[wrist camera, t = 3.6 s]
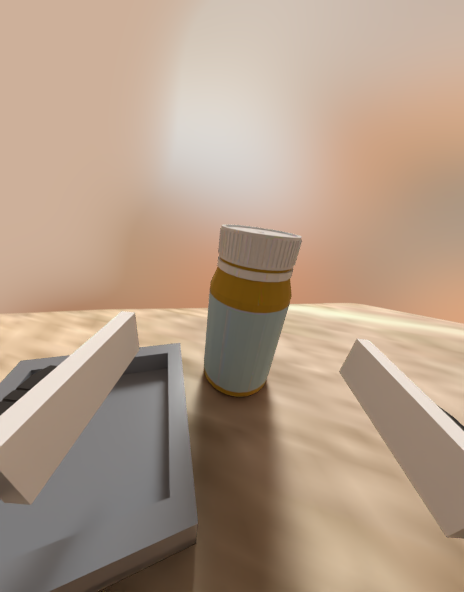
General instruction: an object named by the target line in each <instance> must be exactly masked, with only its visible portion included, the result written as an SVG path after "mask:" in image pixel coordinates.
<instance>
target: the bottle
mask: <svg viewBox="0 0 464 592" xmlns="http://www.w3.org/2000/svg"><path fill="white" fill-rule="evenodd" d="M301 238H302V237H301V236H299V235H295V234H291V233H287V232H282V231H276V230H271V229H264V228H257V227H250V226H240V225H222V227H221V228H220V239H219V250H218V252H219V257H218V267H217V270H216V272H215V274H214V276H213V278H212V280H211V286H210V294H209V306H208V319H207V332H206V344H205V357H204V372H205V375H206V378H207V380H208V381H209V383H210V384H211V385H212V386H213V387H214V388H215V389H217V390H219V391H220V392H222V393H224V394H227V395H231V396H235V397H241V396H249V395H252V394H254V393H256V392H258V391H259V390H260V389H261V388H262V387H263V386H264V384H265V382H266V379H267V376H268V374H269V370H270V367H271V364H272V360H273V357H274V354H275V350H276V347H277V344H278V340H279V337H280V334H281V330H282V327H283V324H284V320H285V317H286V314H287V310H288V307H289V304H290V299H291V286H290V278H291V276H292V272H293V266H294V265H295V263H296V260H297V256H298V252H299V249H300V245H301V242H302V240H301Z"/></svg>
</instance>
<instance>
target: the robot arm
mask: <svg viewBox="0 0 464 592" xmlns="http://www.w3.org/2000/svg"><path fill="white" fill-rule="evenodd" d="M139 350H140V349H139V341H138V333H137V325H136V317H135V313H132V312H124V311H121V312H120V313H119V314H118V315H116V316H115V317H114V318H113V319H112V320H111V321H109V322H108V323H107V324H106V325H105V326H104V327H103V328H101V329H100V330H99V331H98V332H97V333H96V334H94V335H93V336H92V337H91V338H90V339H89V340H87V341H86V342H85V343H84V344H83V345H82V346H80V347H79V348H78V349H77V350H76V351H75V352H74V353H72V354H71V355H70V356H69V357H68V358H67V359H65V360H64V361H63V362H62V363H61V364H60V365H58V366H54V365H50V366H48V367H46V368H44V369H42V370H41V371H39V372H37V373H35V374H33V375H32V376H30V377H29V378H28V379H27V380H25V381H24V382H23V383H22V384H20V385H19V386H18V387H17V388H16V390H13V391H12V392H10V393H9V394H8V395H7V396H5V397H4V398H3V400H2V401H1V402H0V499H1V500H2V501H3V502H4V503H13V504H26V505H31V504H32V503H33V501H34V500H35V498H36V497H37V495H38V494H39V493H40V491H41V490H42V488H43V487H44V485H45V484H46V483H47V481H48V480H49V478H50V477H51V475H52V474H53V473H54V471H55V470H56V468H57V467H58V465H59V464H60V463H61V461H62V460H63V458H64V457H65V455H66V454H67V453H68V451H69V450H70V448H71V447H72V445H73V444H74V443H75V441H76V440H77V438H78V437H79V436H80V434H81V433H82V431H83V430H84V428H85V427H86V426H87V424H88V423H89V421H90V420H91V418H92V417H93V416H94V414H95V413H96V411H97V410H98V408H99V407H100V406H101V404H102V403H103V401H104V400H105V398H106V397H107V396H108V394H109V393H110V391H111V390H112V388H113V387H114V386H115V384H116V383H117V381H118V380H119V378H120V377H121V376H122V374H123V373H124V371H125V370H126V368H127V367H128V366H129V364H130V363H131V361H132V360H133V359H134V357H135V356H136V354H137V353H138V351H139ZM339 372H340V374H341V375H342V377H343V378H344V380H345V381H346V383H347V385H348V386H349V388H350V389H351V391H352V392H353V394H354V395H355V397H356V398H357V400H358V401H359V403H360V405H361V406H362V408H363V409H364V411H365V412H366V414H367V415H368V417H369V418H370V420H371V422H372V423H373V425H374V426H375V428H376V429H377V431H378V432H379V434H380V435H381V437H382V439H383V440H384V442H385V443H386V445H387V446H388V448H389V449H390V451H391V452H392V454H393V455H394V457H395V459H396V460H397V462H398V463H399V465H400V466H401V468H402V469H403V471H404V472H405V474H406V476H407V477H408V479H409V480H410V482H411V483H412V485H413V486H414V488H415V489H416V491H417V493H418V494H419V496H420V497H421V499H422V500H423V502H424V503H425V505H426V506H427V508H428V509H429V511H430V513H431V514H432V516H433V517H434V519H435V520H436V522H437V523H438V525H439V526H440V528H441V530H442V531H443V533H444V534H445V536H446V537H451V538H464V426H463V425H461V424H460V423H459V422H458V421H457V420H456V419H455V418H454V417H453V416H451V415H450V414H448V413H447V412H446V411H444V410H443V409H442V408H440V407H439V406H437V405H436V404H435V403H434V402H433V401H432V400H431V399H430V398H429V397H428V396H427V395H426V394H425V393H424V392H423V391H422V390H421V389H419V388H418V387H417V386H416V385H415V384H414V383H413V382H412V381H411V380H410V379H409V378H408V377H407V376H406V375H405V374H404V373H403V372H402V371H401V370H400V369H399V368H398V367H397V366H396V365H394V364H393V363H392V362H391V361H390V360H389V359H388V358H387V357H386V356H385V355H384V354H383V353H382V352H381V351H380V350H379V349H378V348H377V347H376V346H375V345H374V344H373V343H372V342H370V341H369V340H363V339H356V341H355V343H354V345H353V347H352V349H351V351H350V352H349V354H348V356H347V358H346V360H345V362H344V364H343V366H342V367H341V369H340V371H339Z"/></svg>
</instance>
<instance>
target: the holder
mask: <svg viewBox="0 0 464 592" xmlns="http://www.w3.org/2000/svg"><path fill="white" fill-rule="evenodd" d="M139 349H140V350H139V351H138V353H137V354H136V356H135V357H134V359H133V360H132V361H131V363H130V364H129V366H128V367H127V368H126V370H125V371H124V373H123V374H122V376H121V377H120V378H119V380H118V381H117V383H116V384H115V386H114V387H113V388H112V390H111V391H110V393H109V394H108V396H107V397H106V398H105V400H104V401H103V403H102V404H101V406H100V407H99V408H98V410H97V411H96V413H95V414H94V416H93V417H92V418H91V420H90V421H89V423H88V424H87V426H86V427H85V428H84V430H83V431H82V433H81V434H80V436H79V437H78V438H77V440H76V441H75V443H74V444H73V445H72V447H71V448H70V450H69V451H68V453H67V454H66V455H65V457H64V458H63V460H62V461H61V463H60V464H59V465H58V467H57V468H56V470H55V471H54V473H53V474H52V475H51V477H50V478H49V480H48V481H47V483H46V484H45V485H44V487H43V488H42V490H41V491H40V493H39V494H38V495H37V497H36V498H35V500H34V501H33V503H32V504H31V505H26V504H13V503H4V502H3V501H2V500H1V499H0V592H98V591H100V590H102V589H104V588H106V587H108V586H110V585H112V584H114V583H116V582H118V581H120V580H122V579H124V578H126V577H128V576H130V575H132V574H134V573H136V572H138V571H140V570H142V569H144V568H147V567H149V566H151V565H153V564H155V563H157V562H159V561H161V560H163V559H165V558H167V557H169V556H171V555H173V554H175V553H177V552H179V551H181V550H183V549H185V548H187V547H189V546H191V545H193V544H195V543H196V536H197V528H198V518H197V508H196V498H195V488H194V478H193V468H192V458H191V448H190V438H189V428H188V418H187V408H186V398H185V388H184V378H183V368H182V358H181V348H180V343H176V344H167V345H158V346H149V347H140V348H139ZM69 356H70V355H69ZM69 356H60V357H51V358H42V359H33V360H24V361H20V362H19V363H18V364H17V366H16V367H15V368H14V369H13V370H12V371H11V372H10V373H9V374H8V375H7V376H6V377H5V379H4V380H3V381H2V382H1V383H0V402H1V401H2V400H3V398H4V397H5V396H7V395H8V394H9V393H10V392H12V391H13V390H16V388H17V387H18V386H19V385H20V384H22V383H23V382H24V381H25V380H27V379H28V378H29V377H30V376H32V375H33V374H35V373H37V372H39V371H41V370H42V369H44V368H46V367H48V366H50V365H54V366H58V365H60V364H61V363H62V362H63V361H64V360H65V359H67V358H68V357H69Z"/></svg>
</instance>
